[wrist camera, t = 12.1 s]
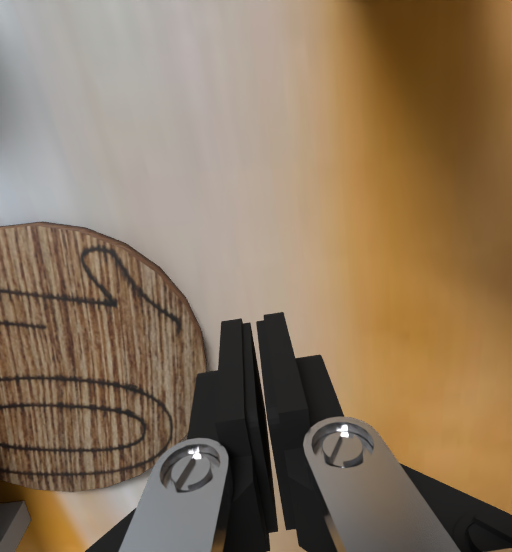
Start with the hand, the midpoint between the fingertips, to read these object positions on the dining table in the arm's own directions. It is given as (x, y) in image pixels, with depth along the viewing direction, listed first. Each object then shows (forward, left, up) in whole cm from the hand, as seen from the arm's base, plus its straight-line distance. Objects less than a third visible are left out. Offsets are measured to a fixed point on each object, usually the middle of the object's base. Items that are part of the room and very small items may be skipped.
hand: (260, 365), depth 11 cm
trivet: (+17, +11, -23) cm, 31 cm away
